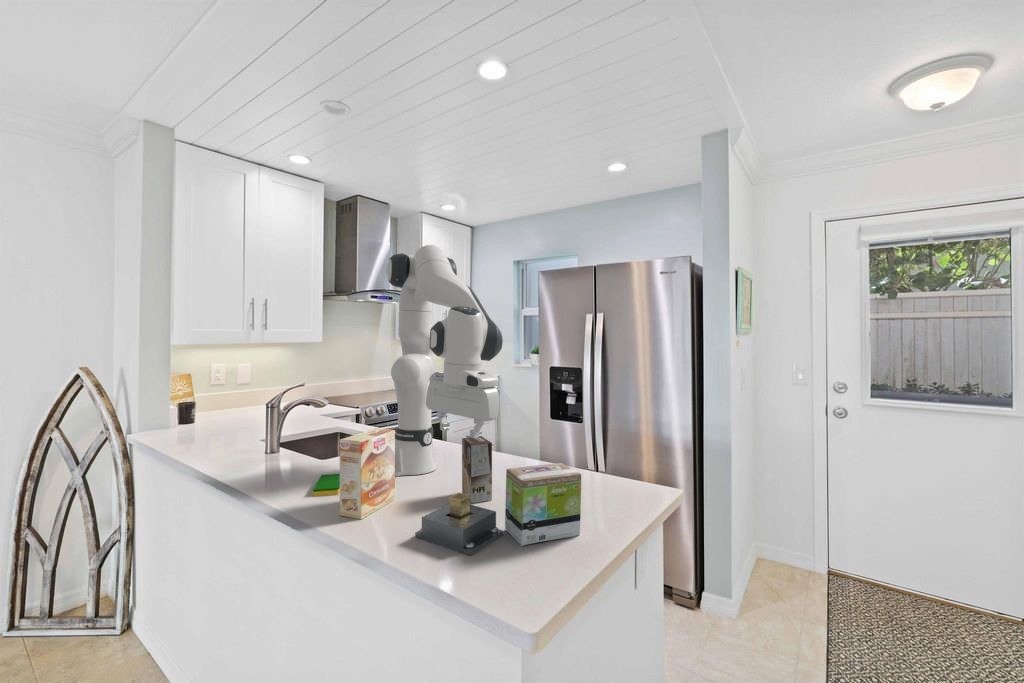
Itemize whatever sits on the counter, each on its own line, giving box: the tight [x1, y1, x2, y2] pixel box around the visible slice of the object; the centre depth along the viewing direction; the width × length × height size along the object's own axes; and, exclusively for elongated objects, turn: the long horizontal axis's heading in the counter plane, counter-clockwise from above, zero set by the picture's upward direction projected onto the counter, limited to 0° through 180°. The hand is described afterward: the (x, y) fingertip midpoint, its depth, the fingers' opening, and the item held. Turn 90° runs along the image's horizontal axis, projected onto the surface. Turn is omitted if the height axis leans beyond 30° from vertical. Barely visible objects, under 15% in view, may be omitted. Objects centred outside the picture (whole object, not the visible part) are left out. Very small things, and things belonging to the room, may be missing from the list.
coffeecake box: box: [339, 427, 396, 520], centre depth 124 cm, size 15×7×20 cm, turn 160°
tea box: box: [504, 462, 582, 547], centre depth 109 cm, size 15×10×15 cm, turn 114°
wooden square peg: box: [447, 492, 472, 520], centre depth 108 cm, size 4×4×8 cm
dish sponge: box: [312, 473, 340, 497], centre depth 140 cm, size 7×14×2 cm, turn 12°
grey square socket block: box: [414, 503, 504, 556], centre depth 108 cm, size 16×12×5 cm
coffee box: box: [461, 435, 493, 504], centre depth 132 cm, size 9×6×16 cm
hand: (459, 433), depth 111 cm, fingers open, 8 cm apart
